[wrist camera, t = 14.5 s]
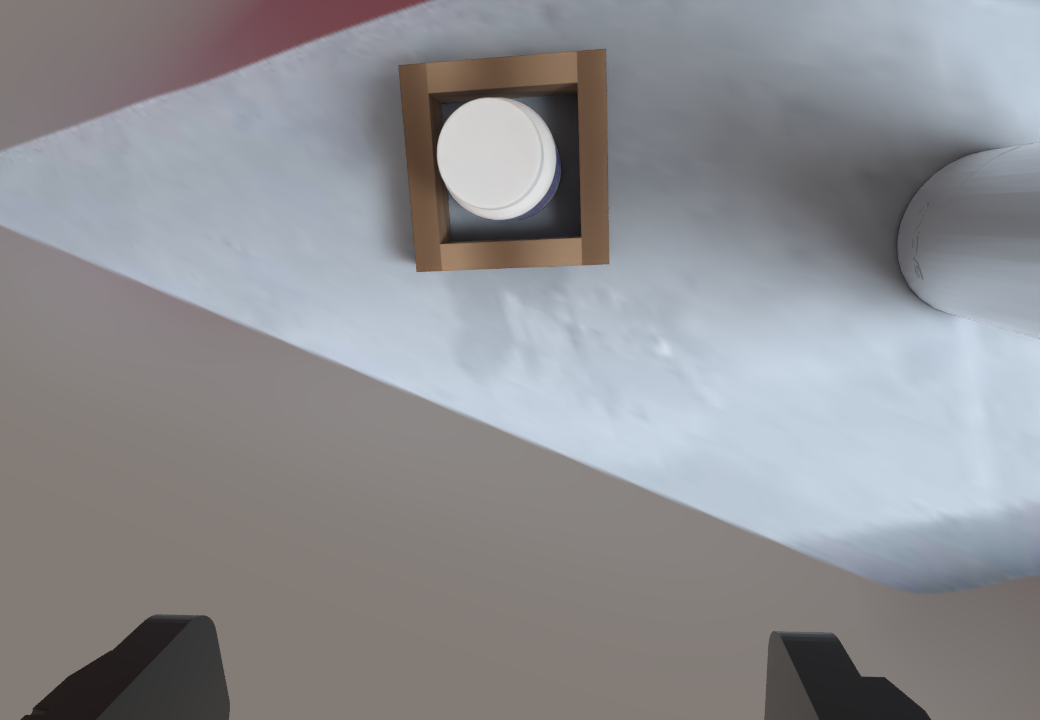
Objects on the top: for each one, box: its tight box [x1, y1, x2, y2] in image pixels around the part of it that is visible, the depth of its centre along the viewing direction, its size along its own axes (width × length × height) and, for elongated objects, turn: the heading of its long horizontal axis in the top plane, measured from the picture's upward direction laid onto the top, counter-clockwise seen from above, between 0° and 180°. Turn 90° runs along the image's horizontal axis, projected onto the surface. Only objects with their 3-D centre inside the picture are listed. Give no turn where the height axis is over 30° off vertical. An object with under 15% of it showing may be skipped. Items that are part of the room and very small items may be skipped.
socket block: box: [399, 49, 609, 272], centre depth 34 cm, size 11×11×3 cm
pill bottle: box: [437, 97, 561, 220], centre depth 31 cm, size 6×6×10 cm
